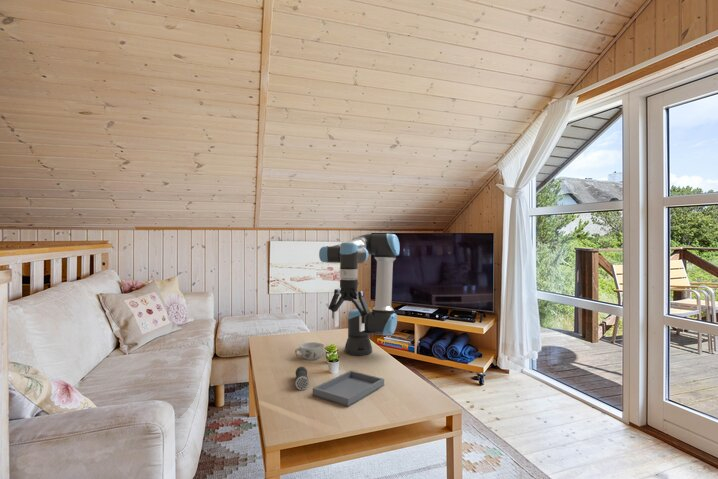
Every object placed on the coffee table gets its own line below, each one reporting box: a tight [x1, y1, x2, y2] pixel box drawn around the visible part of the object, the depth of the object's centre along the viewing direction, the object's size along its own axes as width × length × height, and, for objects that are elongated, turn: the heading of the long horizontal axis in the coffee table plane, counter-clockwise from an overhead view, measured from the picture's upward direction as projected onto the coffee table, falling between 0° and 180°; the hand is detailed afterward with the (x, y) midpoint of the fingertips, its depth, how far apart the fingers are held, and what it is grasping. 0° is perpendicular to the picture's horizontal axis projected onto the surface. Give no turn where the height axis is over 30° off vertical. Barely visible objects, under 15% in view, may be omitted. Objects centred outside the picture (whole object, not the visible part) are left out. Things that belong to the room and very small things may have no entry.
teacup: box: [294, 342, 325, 361], centre depth 198 cm, size 15×12×8 cm
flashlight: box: [295, 366, 310, 391], centre depth 166 cm, size 15×5×5 cm
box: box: [312, 370, 385, 408], centre depth 158 cm, size 26×18×3 cm
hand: (348, 328), depth 161 cm, fingers open, 13 cm apart
